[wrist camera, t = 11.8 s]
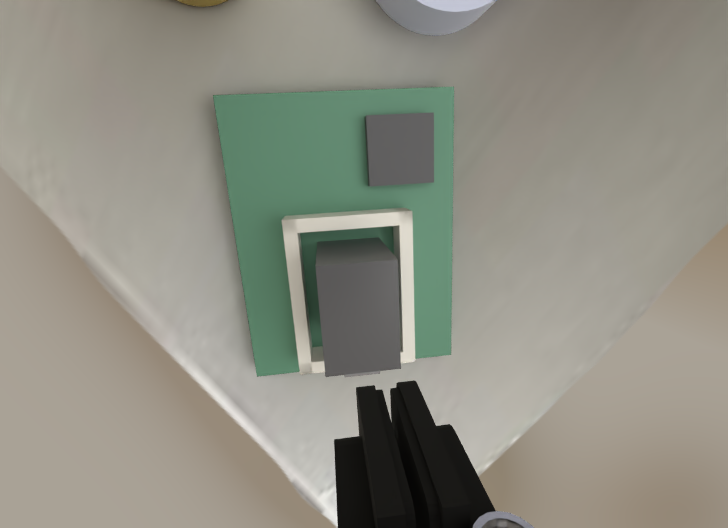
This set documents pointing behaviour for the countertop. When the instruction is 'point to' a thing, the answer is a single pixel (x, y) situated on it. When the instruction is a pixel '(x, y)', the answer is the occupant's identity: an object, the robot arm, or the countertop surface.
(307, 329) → the board
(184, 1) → the bark patterned cylinder
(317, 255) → the plug
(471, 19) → the wedge on round base
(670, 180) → the countertop surface
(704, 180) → the countertop surface
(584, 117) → the countertop surface
